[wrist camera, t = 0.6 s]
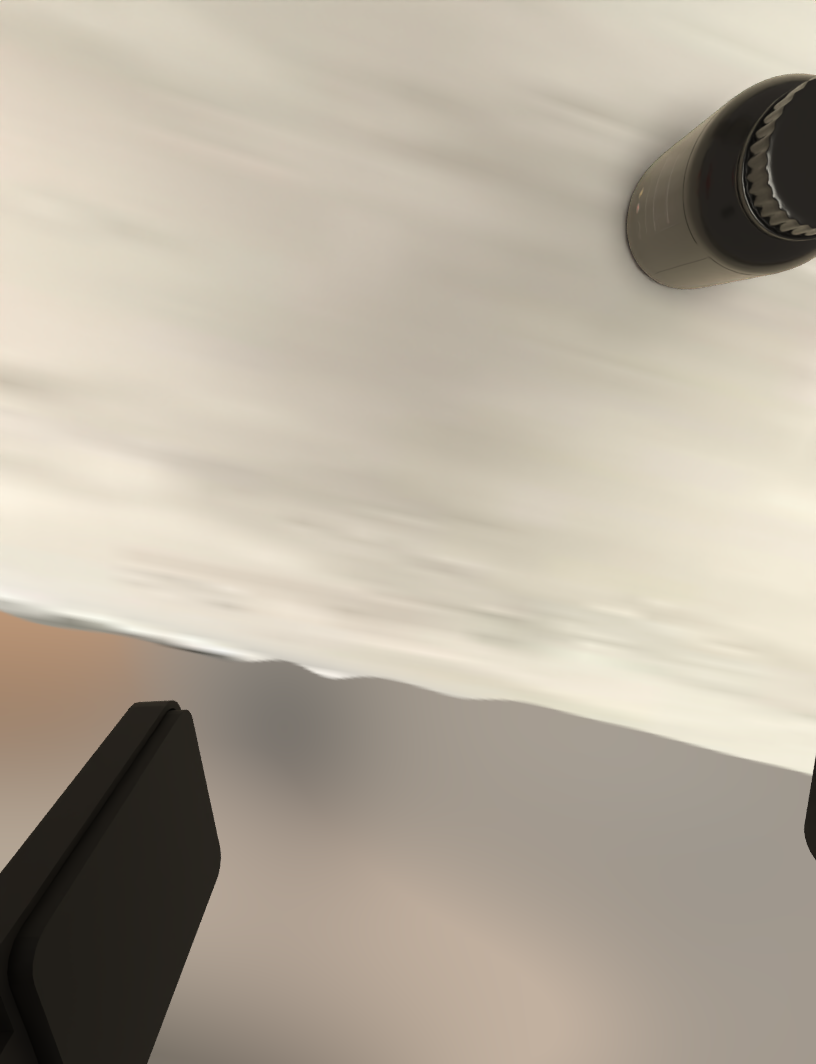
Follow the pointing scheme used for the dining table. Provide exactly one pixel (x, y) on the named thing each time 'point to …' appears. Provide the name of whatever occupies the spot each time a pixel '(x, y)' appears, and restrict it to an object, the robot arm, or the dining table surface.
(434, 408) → the dining table surface
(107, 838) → the robot arm
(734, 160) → the supplement bottle
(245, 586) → the dining table surface
